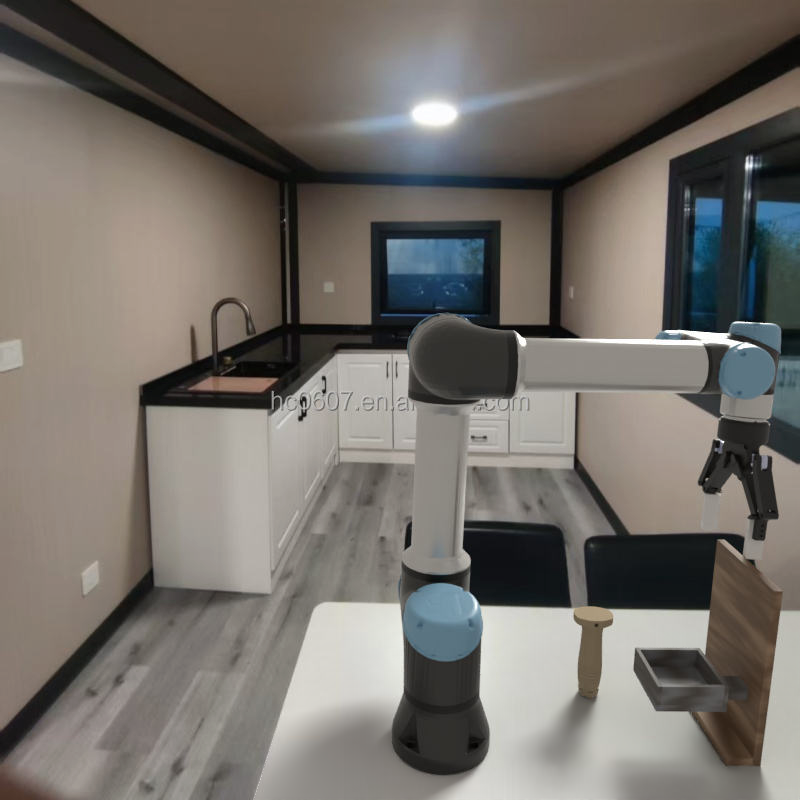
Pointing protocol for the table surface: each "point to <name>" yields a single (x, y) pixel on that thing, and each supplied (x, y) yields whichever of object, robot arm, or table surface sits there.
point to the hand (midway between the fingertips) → (728, 544)
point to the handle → (591, 647)
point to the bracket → (723, 662)
